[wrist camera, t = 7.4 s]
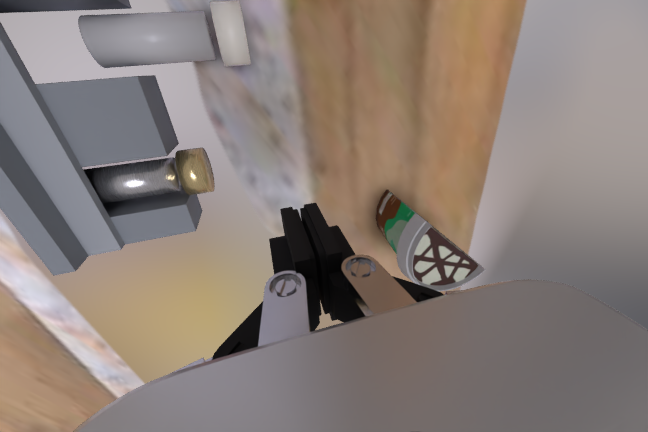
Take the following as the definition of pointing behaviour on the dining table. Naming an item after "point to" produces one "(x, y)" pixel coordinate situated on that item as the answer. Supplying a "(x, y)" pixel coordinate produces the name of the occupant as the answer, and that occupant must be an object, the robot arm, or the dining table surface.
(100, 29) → the light grey capped cylinder
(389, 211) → the food container
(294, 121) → the dining table surface
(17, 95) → the mount
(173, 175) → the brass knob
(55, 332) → the dining table surface
